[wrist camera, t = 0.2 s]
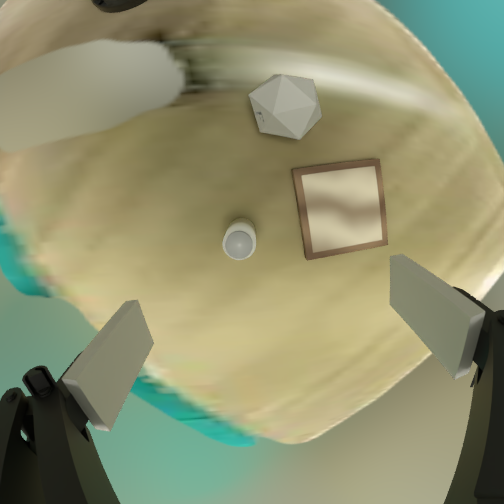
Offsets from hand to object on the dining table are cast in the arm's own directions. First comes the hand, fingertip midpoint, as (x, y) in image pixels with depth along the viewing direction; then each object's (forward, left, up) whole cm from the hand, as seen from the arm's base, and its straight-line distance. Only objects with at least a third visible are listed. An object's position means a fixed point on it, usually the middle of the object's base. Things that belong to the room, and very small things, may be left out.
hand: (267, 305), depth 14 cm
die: (-14, +6, -28) cm, 32 cm away
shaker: (+2, -3, -27) cm, 28 cm away
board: (+1, +12, -27) cm, 30 cm away
